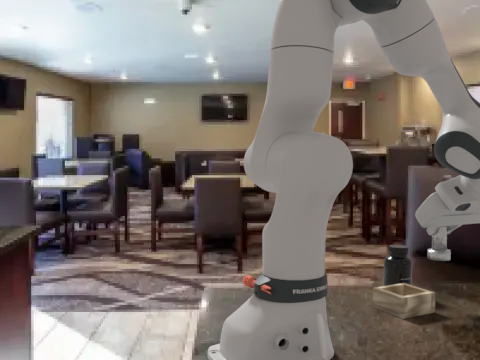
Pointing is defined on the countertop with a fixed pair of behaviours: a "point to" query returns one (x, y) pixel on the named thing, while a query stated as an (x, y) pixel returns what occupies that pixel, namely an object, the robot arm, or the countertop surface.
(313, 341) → the robot arm
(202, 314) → the countertop surface
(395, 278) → the supplement bottle
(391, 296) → the open wooden box
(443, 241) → the metal coffee tamper
